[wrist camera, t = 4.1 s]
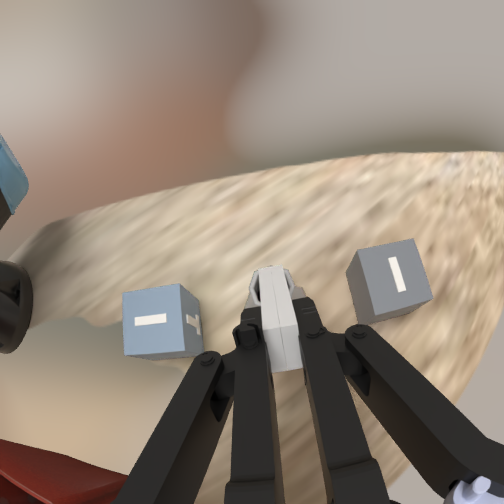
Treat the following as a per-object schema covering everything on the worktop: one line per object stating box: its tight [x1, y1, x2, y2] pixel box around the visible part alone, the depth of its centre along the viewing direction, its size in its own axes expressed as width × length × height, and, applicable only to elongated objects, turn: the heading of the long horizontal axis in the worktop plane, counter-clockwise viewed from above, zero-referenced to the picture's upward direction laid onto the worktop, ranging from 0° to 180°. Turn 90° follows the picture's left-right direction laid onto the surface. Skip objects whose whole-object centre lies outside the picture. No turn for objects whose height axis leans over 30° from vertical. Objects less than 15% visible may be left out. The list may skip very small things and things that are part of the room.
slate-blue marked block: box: [123, 283, 204, 360], centre depth 26 cm, size 6×6×6 cm
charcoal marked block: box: [346, 239, 433, 325], centre depth 25 cm, size 6×6×6 cm
